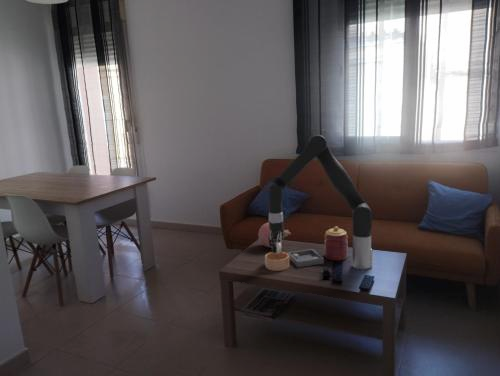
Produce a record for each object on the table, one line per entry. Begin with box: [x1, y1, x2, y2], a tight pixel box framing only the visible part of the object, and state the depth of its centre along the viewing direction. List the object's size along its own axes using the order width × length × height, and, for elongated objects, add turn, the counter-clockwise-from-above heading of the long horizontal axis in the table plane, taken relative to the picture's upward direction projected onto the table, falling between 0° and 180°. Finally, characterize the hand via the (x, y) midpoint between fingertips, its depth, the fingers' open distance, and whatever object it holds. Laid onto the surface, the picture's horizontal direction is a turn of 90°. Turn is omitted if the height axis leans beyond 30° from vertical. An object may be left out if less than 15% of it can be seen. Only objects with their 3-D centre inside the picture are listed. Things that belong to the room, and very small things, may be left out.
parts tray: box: [287, 248, 325, 268], centre depth 226 cm, size 15×15×3 cm
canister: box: [323, 225, 349, 261], centre depth 228 cm, size 13×13×18 cm
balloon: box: [257, 221, 292, 249], centre depth 247 cm, size 15×20×15 cm
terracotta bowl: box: [264, 251, 290, 272], centre depth 220 cm, size 13×13×6 cm
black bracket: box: [319, 267, 332, 282], centre depth 205 cm, size 12×7×5 cm, turn 174°
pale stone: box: [271, 242, 282, 254], centre depth 218 cm, size 5×5×5 cm
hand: (276, 250), depth 219 cm, fingers closed on pale stone, 5 cm apart
